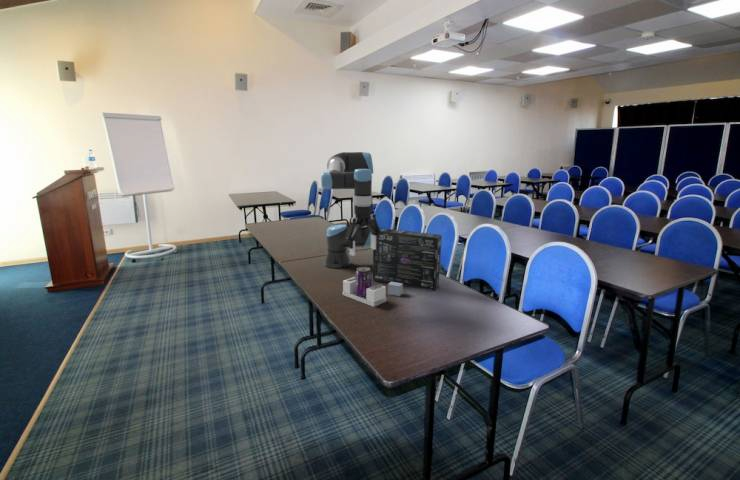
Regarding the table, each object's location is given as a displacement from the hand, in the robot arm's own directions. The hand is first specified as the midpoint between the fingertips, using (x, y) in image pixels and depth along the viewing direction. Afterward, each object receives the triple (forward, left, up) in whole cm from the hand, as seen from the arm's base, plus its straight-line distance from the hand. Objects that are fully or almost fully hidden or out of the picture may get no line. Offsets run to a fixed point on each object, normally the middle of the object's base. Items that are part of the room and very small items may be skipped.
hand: (363, 252), depth 165 cm
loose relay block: (-13, +9, -21) cm, 26 cm away
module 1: (+1, -6, -19) cm, 20 cm away
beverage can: (+1, +2, -19) cm, 20 cm away
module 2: (+1, +9, -19) cm, 21 cm away
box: (-27, +4, -22) cm, 34 cm away
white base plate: (+1, +2, -21) cm, 21 cm away
